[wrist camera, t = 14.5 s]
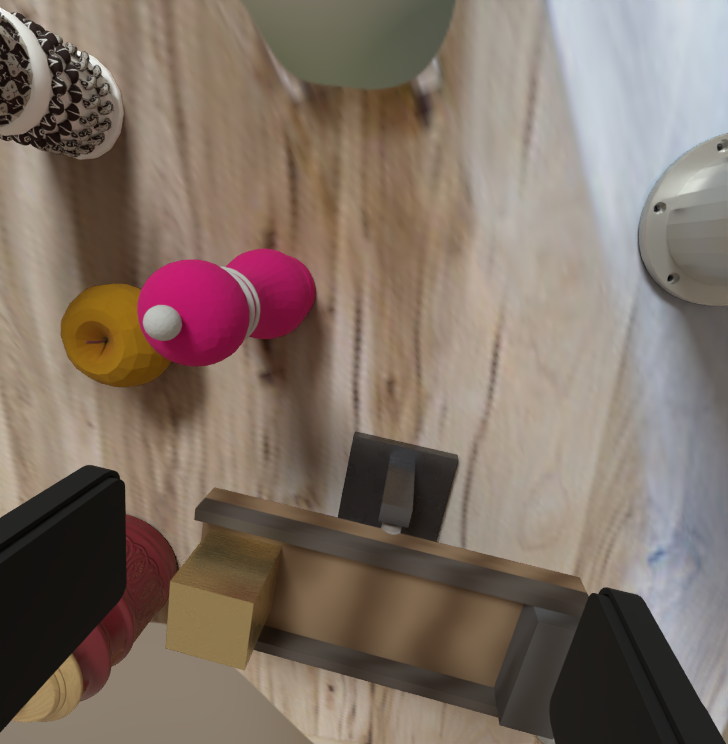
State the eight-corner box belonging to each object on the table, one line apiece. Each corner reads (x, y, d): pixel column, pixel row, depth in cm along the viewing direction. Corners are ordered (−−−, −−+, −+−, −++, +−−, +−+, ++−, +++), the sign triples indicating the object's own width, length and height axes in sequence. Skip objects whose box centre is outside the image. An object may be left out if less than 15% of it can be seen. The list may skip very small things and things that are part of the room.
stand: (457, 454, 42) (465, 508, 33) (412, 619, 48) (409, 702, 39) (355, 431, 43) (337, 477, 34) (323, 596, 49) (300, 672, 40)
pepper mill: (324, 328, 41) (233, 396, 22) (249, 330, 42) (99, 398, 23) (317, 246, 39) (212, 242, 20) (239, 251, 40) (67, 252, 21)
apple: (217, 338, 42) (165, 360, 34) (155, 388, 45) (90, 421, 36) (156, 260, 41) (85, 262, 33) (94, 316, 44) (13, 332, 35)
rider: (281, 546, 36) (253, 603, 30) (272, 605, 37) (244, 670, 32) (211, 528, 36) (170, 581, 30) (205, 587, 38) (165, 648, 32)
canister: (178, 518, 49) (46, 660, 32) (183, 614, 52) (66, 788, 35) (69, 502, 50) (-112, 629, 33) (81, 596, 54) (-77, 755, 37)
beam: (576, 561, 35) (604, 619, 30) (529, 682, 39) (546, 753, 34) (221, 475, 38) (186, 513, 32) (209, 596, 42) (175, 649, 36)
